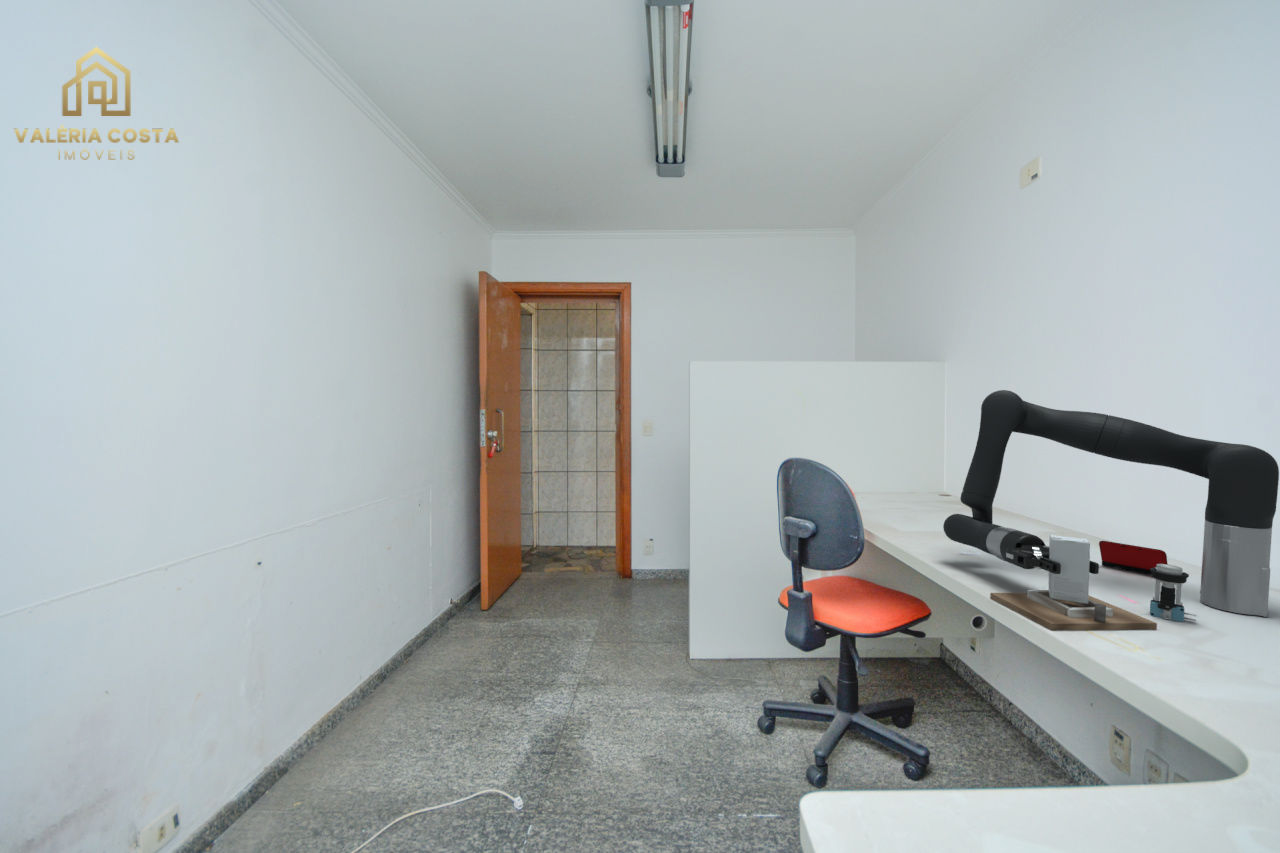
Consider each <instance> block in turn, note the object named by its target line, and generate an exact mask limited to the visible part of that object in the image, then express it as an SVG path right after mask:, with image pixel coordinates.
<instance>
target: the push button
mask: <svg viewBox="0 0 1280 853" xmlns="http://www.w3.org/2000/svg"><path fill="white" fill-rule="evenodd" d="M1150 571H1151V572H1152V575H1150V577H1151V578H1153V579H1155V585H1154V586H1155V587H1154V597H1152V599H1151V600H1150V604H1149V608H1150V609H1149V615H1150V616H1151V617H1154V618H1155V617H1157V618H1160V619H1161V618H1162V619H1166V620H1170V621H1174V622H1176V621H1177V622H1181V623H1183V622H1185V620H1189V621H1195V622H1197V619H1195V618H1189V617H1185V615H1187V616H1192V617H1197V614H1194V613H1188V612H1185V607H1184V605H1183V602H1181V601H1182V600H1181V599H1182V584H1186V583H1187V580H1188V578H1189V576H1190V575H1189V573H1187V572H1184V571H1183V568H1182V567H1181V566H1177V565H1172V564H1168V563H1167V564H1157V567H1155V568H1150ZM1161 583H1162V585H1161ZM1175 586H1176V588H1175Z"/></svg>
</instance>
